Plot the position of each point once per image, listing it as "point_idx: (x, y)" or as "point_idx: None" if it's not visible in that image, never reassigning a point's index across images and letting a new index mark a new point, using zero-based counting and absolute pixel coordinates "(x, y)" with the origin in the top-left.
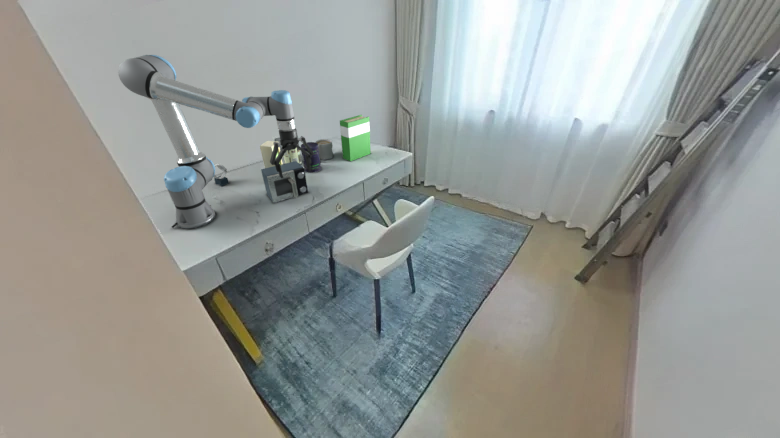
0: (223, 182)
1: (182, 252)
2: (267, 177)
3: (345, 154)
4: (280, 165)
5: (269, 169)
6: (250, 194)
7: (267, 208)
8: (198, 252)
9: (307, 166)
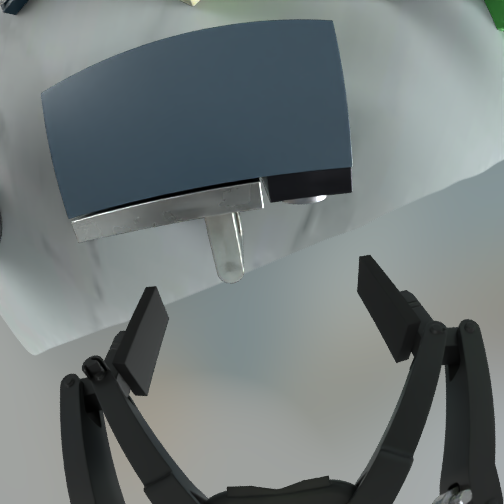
0: (15, 6)
1: (7, 321)
2: (76, 232)
3: (499, 4)
4: (147, 392)
5: (84, 109)
6: None
7: None
8: (27, 334)
9: (368, 283)
